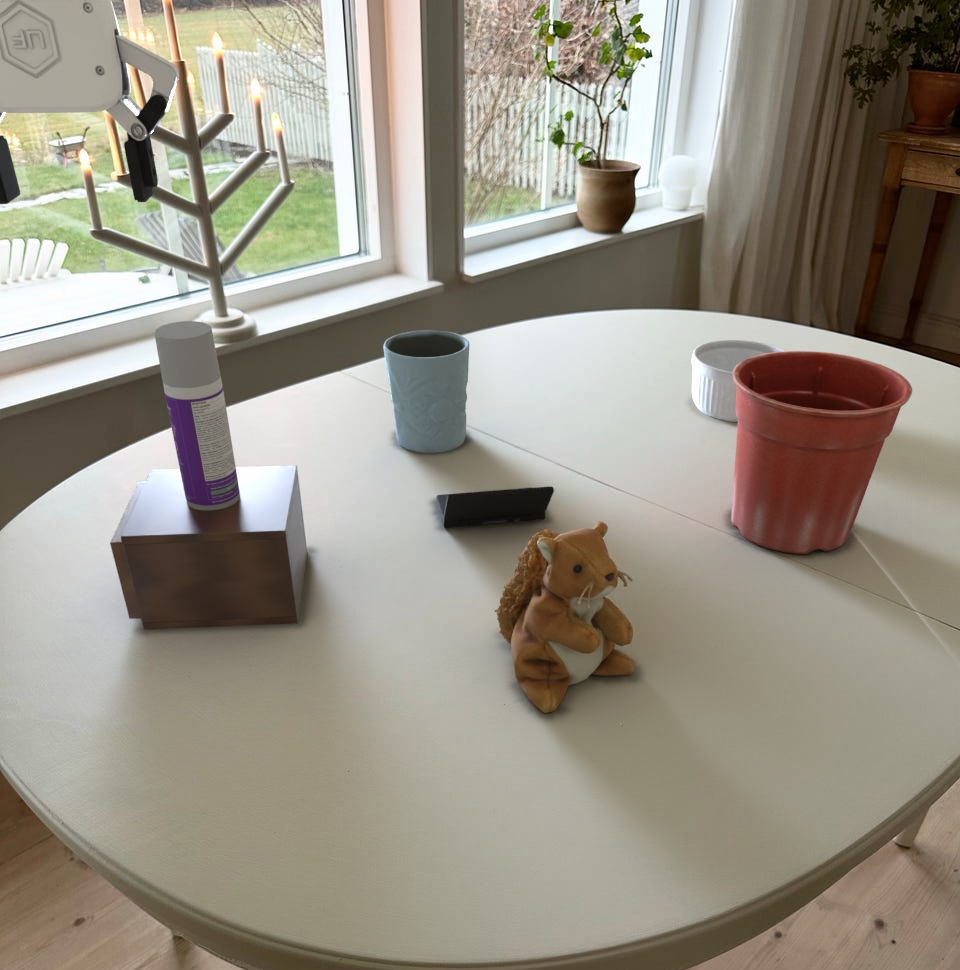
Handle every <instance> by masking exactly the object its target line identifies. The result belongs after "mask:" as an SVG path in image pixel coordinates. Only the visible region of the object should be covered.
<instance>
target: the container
mask: <svg viewBox="0 0 960 970" xmlns="http://www.w3.org/2000/svg"><path fill="white" fill-rule="evenodd" d="M153 333H154V339H155V345H156V350H157V351H156V352H157V357H158V362H159V367H160V374H161V379H162V386H163V392H164V397H165V402H166V407H167V413H168V417H169V422H170V426H171V427H170V428H171V431H172V436H173V441H174V442H173V443H174V446H175V451H176V457H177V462H178V467H179V469H180V472H181V477H182V482H183V487H184V492H185V497H186V501H187V504H188V505H189V506H190V507H192V508H194V509H197V510H203V511H212V510H219V509H224V508H227V507H229V506H231V505H233V504H235V503H236V502H237V501H238V500H239V498H240V491H239V485H238V479H237V472H236V467H237V466H236V459H235V455H234V449H233V447H234V446H233V442H232V436H231V430H230V422H229V417H228V411H227V404H226V398H225V392H224V391H225V390H224V385H223V381H222V375H221V371H220V365H219V359H218V355H217V349H216V344H215V339H214V333H213V329H212V326H211V325H210V324H209V323H206V322H203V321H196V320H186V321H185V320H184V321H183V320H182V321H175V322H170V323H166V324H163V325H160V326H159V327H157V328H155V330H154V332H153Z"/></svg>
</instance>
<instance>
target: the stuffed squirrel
mask: <svg viewBox="0 0 960 970" xmlns="http://www.w3.org/2000/svg"><path fill="white" fill-rule="evenodd" d="M608 530H609V526H608V525H607V524H606V522H603V521H601V520H600V521H597V523H595V525H594V527H593V528H590V527H582V528H577V529H574V530H569V531H566V532H564V533H561V534H560V533H557V532H555V531H552V530H551V529H548V528H545V529H541V530H539V531H538V532H536V533H534V534H532V536H530V539H529V541H528V543H527V545H526V546H525V548H524V550H523V551H522V552H521V553H520V554H519V556H517V560H518V562H517V564H516V567H515V568H514V571H513V573H511V577H510V578H511V579H509V580H508V582H507V583H506V584H505V586H503V587H504V590H503V591H501V592H502V593H501V595H502V597H500V599H499V606H498V608H497V609H495V610H494V613H496V617H497V621H498V627H499V629H500V631H499V634H501V635H502V637H503V638H504V640H506V642H507V643H509V644H510V648H511V657H512V662H513V672H514V676H515V680H516V681H517V684H518V686H519V687H520V689H521V690H522V692H523V693H524V695H525V696H526V697H527V698H528V700H529V701H530V702H531V703H532V704H533V705H534V706H535V707H536V708H538V710H539V711H540V712H542V713H544V714H547V713H552V712H555V711H556V710H557V708H558V707H559V705H560V704H561V702H562V700H563V698H564V696H565V694H566V692H567V691H568V688H569V686H570V685H571V686H572V685H576V684H579V683H581V682H584V681H585V680H587V679H588V678H589V677H590V676H591V675H594V676H631V675H632V674H633V673H634V671H635V667H636V663H635V661H634V659H632V658H631V657H630V656H629V655H628V654H625V653H623V652H621V651H620V650H617V649H615V647H616V645H617V646H619V647H624V646H626V645H630V644H631V643H632V641H633V638H634V628H633V626H632V623H631V621H630V620H629V619H628V618H627V616H626V615H625V614H624V613H623V611H621V609H619V607H618V606H616V604H615V603H614V602H613V601H612V600H610V598H607V597H606V596H609V595H610V594H611V593H613V592H614V591H615V589H616V588H617V586H618V581H619V579H620V580H621V582H622V583H623V588H626V587H628V582H627V580H628V581H630V582H633V581H634V580H633V578H632V577H631V576H630V575H628V574H627V573H625V572H623V571H621V570H618V567H617V565H616V563H615V562H614V560H613V559H612V558H611V557H610V555H609V550H608V548H607V544H606V541H605V539H604V537H605V535H607V532H608ZM625 577H627V580H626V578H625Z"/></svg>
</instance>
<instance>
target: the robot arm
mask: <svg viewBox="0 0 960 970" xmlns="http://www.w3.org/2000/svg"><path fill="white" fill-rule="evenodd" d="M128 65H129V66H131V67H133V68H134V69H137V70H139V71H141V72H142V73H145V74H146V75H148V76H149V77H150V78H151V80H152V82H153V86H152V88H151V94H150V98H148V100H147V101H146V103H145V104H144V105H143V107H142V108H141V107H140V106H139V105H138V104H137V103H136V101H135V100H134V99H133V98H132V97H131V96H130V94H131V79H130V72H129V71H130V70H129V67H128ZM179 76H180V70H179V68H178V66H177V65H176V64H175V63H173V62H171V61H169V60H168V59H165V58H164V57H162V56H160V55H158V54H156V53H154V52H152V51H151V50H150V49H147V48H145V47H143V46H141V45H139V44H137V43H136V42H134V41H132V40H130V39H128V38H127V37H124V36H122V35H121V31H120V27H119V24H118V19H117V16H116V12H115V7H114V5H113V1H112V0H0V123H1V122H2V120H3V118H4V116H5V114H57V113H59V114H63V113H64V114H66V113H67V114H68V113H71V114H72V113H74V114H75V113H77V114H78V113H79V114H80V113H98V112H104V111H106V112H107V113H108V114H109V115H110V116H111V117H112V118H113V120H114V121H116V123H117V124H119V125H120V127H121V128H122V129H124V131H125V132H126V135H127V140H126V141H125V142H124V143H123V148H124V153H125V159H126V164H127V168H128V169H127V170H128V174H129V179H130V185H131V190H132V195H133V199H134V201H137V203H147V202H148V200H149V199H150V198H151V197H152V196H153V193H154V190H153V188H157V187H158V184H159V180H158V173H157V169H156V168H157V167H156V162H155V155H154V150H153V145H152V139H151V138H152V137H151V135H152V133H153V132H154V130H155V129H156V127H157V126H158V125H159V124H160V122H161V121H162V120H163V118H164V116H166V114H167V113H168V111H169V110H170V108H171V102H172V99H173V96H174V93H175V89H176V86H177V82H178V80H179ZM20 195H21V189H20V184H19V182H18V177H17V173H16V170H15V166H14V161H13V158H12V154H11V151H10V147H9V142H8V140H7V138H6V137H5V136H4V135H2V134H1V135H0V205H7V204H9V203H10V202H12V201H14V200H15V199H17V198H18V197H19V196H20Z"/></svg>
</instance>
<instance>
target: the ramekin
mask: <svg viewBox="0 0 960 970" xmlns="http://www.w3.org/2000/svg"><path fill="white" fill-rule="evenodd" d="M783 351H787V350H785V349H784V348H781V347H778V346H775V345H772V344H769V343H764V342H759V341H755V340H754V341H753V340H747V339H721V340H720V339H718V340H713V341H708V342H705V343H701V344H699V345H698V346H696V348H694V350H693V352H692V356H691V365H692V377H691V397H692V401H693V402H694V404H695V406H696V407H697V409H698V410H699V411H700V412H701V413H703V414H704V415H706V416H708V417H711V418H714V419H716V420H720V421H725V422H731V423H738V418H737V416H736V412H735V409H736V393H737V386H736V385H735V383H734V380H733V370H734V368H735V367H736V365H737V364H739V363H740V362H741V361H743V360H745V359H747V358H750V357H753V356H757V355H761V354H767V353H773V352H783Z"/></svg>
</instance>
